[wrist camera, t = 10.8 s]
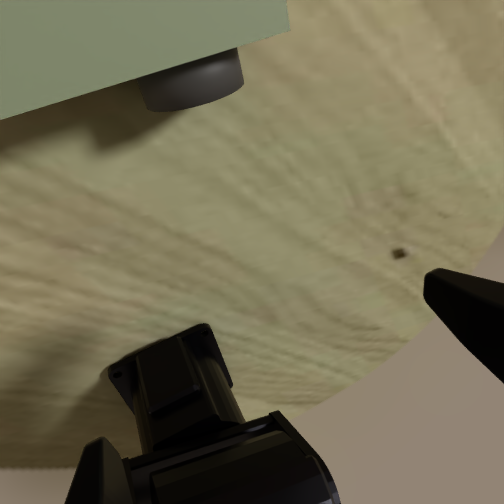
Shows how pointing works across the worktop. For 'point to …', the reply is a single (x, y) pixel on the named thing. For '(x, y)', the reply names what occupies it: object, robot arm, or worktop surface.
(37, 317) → the worktop surface
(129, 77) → the block with end pegs
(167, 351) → the robot arm
